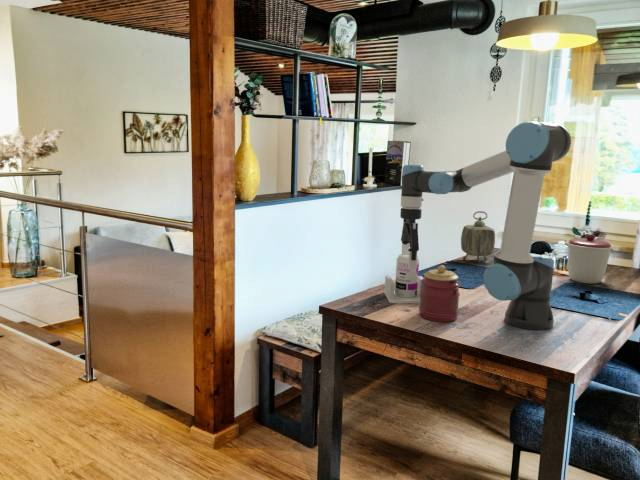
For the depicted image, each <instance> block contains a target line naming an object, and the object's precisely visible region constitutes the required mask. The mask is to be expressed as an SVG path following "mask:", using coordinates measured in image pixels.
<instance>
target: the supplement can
mask: <svg viewBox="0 0 640 480" xmlns="http://www.w3.org/2000/svg"><path fill="white" fill-rule="evenodd" d="M395 266H396V267H395V281H394V283H395V294H396V295H397V296H399V297H403V298H413V297H415V296H416V295H417V287H418V276H419V271H420V270H419V269H420V268H419V267H420V260H419V257H418V255H417V267H416V269H408V268H409V254H402V253H401V254H398V257H397V258H396V265H395Z"/></svg>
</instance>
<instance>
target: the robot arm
mask: <svg viewBox="0 0 640 480" xmlns="http://www.w3.org/2000/svg"><path fill="white" fill-rule="evenodd" d="M571 145H572V136H571V134H570V132H569V131H568V129H567V128H566V127H564V126H563V125H562V124H559V123H556V122H544V121H537V120H536V121H535V120H534V121H525V122H522V123H518V125H516V126H515V127H514V128H512V129H511V131H510V132H509V133H508V135H507V137H506V141H505V150H504V151H501V152H499V153H496V154H494V155H491V156H489V157H486V158H484V159H481V160H480V161H476V162H474V163H471V164H469V165H467V166H464V167H463V168H459V169H458V170H453V171H452V170H451V171H450V170H448V171H426V170H424V166H423V165H422V164H404V166H402V172H401V196H400V218H401V219H403V222H402V223H403V225H402V231H401V238H400V241H401V254H409V268H408V269H416V267H417V256H418V251H419V250H420V248H419V242H420V241H419V230H418V229H419V223H418V222H416V220H421V218H422V205H423V203H422V202H424V198H423V193H425V194H427V193H428V194H434V195H447V194H449V193H464V192H469V191H470V190H471V189H472V188H473V187H476V186H479V185H481V184H483V183H487V182H489V181H492V180H495V179H498V178H501V177H503V176H507V175H509V174H511V173H513V174H512V180H511V185H510V186H511V187H510V192H509V197H508V203H507V209H506V213H505V214H506V216H505V221H504V226H503V227H504V228H503V232H502V238H501V244H500V249H498V250H497V251H495V252H494V255H493V260H492V264H490V265H489V266H488V267H487V268H486V269H485V270H484V273H483V286H484V288H485V290H487V292H488V294H489V295H490V296H491V297H493V299H496V300H497V301H498V300H499V301H504V302H506V301H510V302H509V303H508V306H507V309H506V310H505V313H504V321H505V322H506V323H508V324H509V325H511V326H513V327H517V328H521V329H525V330H532V329H533V330H535V331H537V330H538V331H539V330H540V331H544V330H550V329H552V328H553V327H554V321H555V320H554V316H553V311H552V306H551V296H552V295H551V293H552V287H553V286H552V285H553V276H554V271H555V260H554V259H553V258H552V257H550V256H547V255H542V254H536V253H531V249H532V243H533V237H534V232H535V226H536V221H537V217H538V211H539V206H540V200H541V197H542V196H541V195H542V189H543V185H544V184H543V183H544V181H545V180H544V179H545V176H546V175H548V174H549V173H550V172H551V171H552V166H553V162H557V161H560V160H562V158H564V157H565V156H566V155H567V154H568V152H569V151H570V149H571ZM551 327H552V328H551ZM549 328H550V329H549Z"/></svg>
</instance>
